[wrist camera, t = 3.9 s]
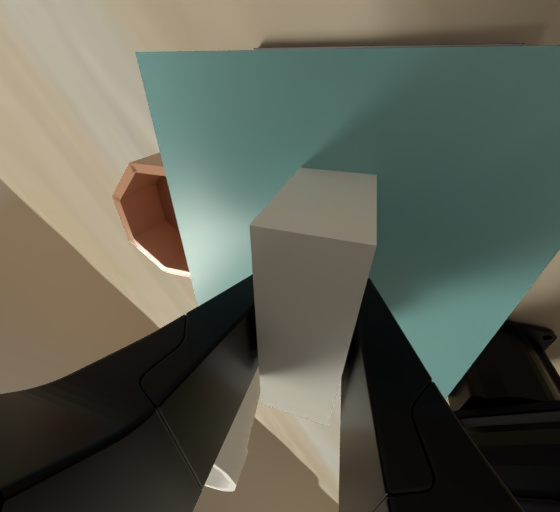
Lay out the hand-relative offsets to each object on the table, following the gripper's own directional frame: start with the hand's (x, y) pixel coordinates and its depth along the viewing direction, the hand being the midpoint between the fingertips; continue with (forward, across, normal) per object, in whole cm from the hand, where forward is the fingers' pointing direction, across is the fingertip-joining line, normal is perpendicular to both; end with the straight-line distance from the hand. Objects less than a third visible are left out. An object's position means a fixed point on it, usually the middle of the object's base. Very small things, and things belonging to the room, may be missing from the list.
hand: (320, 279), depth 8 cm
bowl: (+12, +12, +4) cm, 17 cm away
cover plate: (+2, 0, 0) cm, 2 cm away
